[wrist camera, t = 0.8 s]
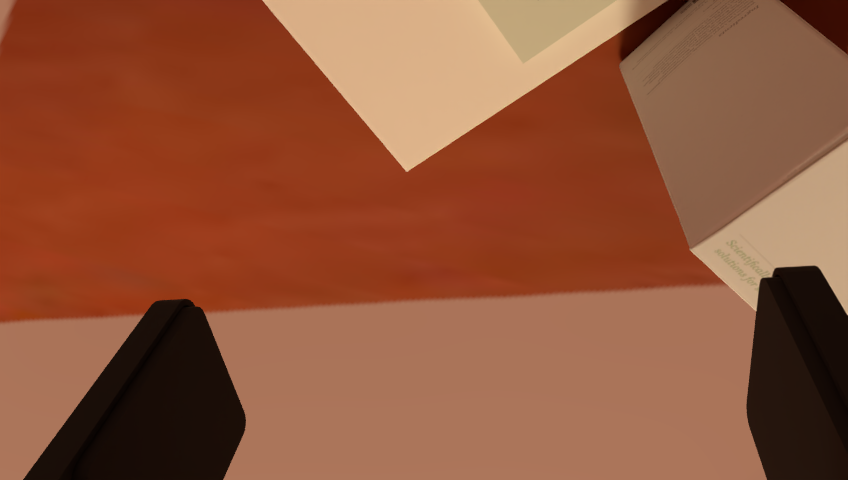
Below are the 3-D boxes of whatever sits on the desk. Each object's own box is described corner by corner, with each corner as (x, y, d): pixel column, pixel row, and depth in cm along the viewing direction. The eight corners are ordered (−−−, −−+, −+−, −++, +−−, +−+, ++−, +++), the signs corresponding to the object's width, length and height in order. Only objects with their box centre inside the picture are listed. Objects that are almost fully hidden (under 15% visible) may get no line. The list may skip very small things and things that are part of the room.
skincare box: (614, 61, 32) (669, 246, 19) (740, -51, 29) (905, 79, 16) (729, 177, 35) (846, 411, 22) (856, 84, 32) (1083, 293, 19)
